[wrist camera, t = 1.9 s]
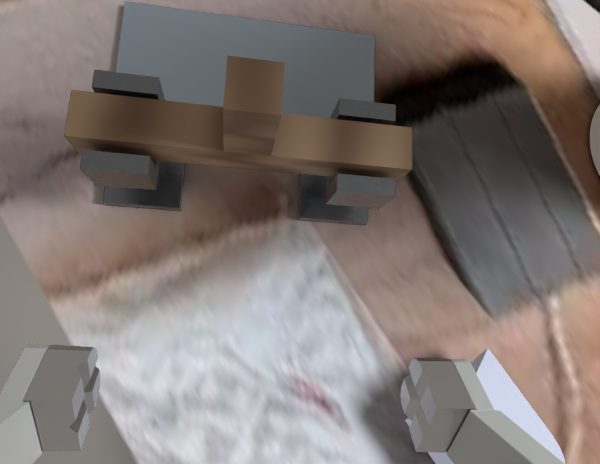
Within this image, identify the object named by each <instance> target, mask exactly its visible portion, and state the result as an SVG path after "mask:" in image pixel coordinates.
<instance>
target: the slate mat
mask: <svg viewBox="0 0 600 464" xmlns="http://www.w3.org/2000/svg"><path fill="white" fill-rule="evenodd" d="M227 55H228V56H236V57H244V58H252V59H260V60H268V61H276V62H284V63H285V65H284V83H283V101H282V113H284V114H294V115H303V116H312V117H321V118H330V116H331V114H332V113H333V111H334V109H335V107H336V105H337V103H338V101H339V99H340V98H341V99H350V100H359V101H367V102H374V61H375V36H373V35H366V34H359V33H352V32H344V31H337V30H330V29H322V28H315V27H308V26H301V25H293V24H286V23H279V22H271V21H264V20H257V19H250V18H242V17H235V16H228V15H220V14H213V13H206V12H199V11H191V10H184V9H177V8H169V7H162V6H155V5H148V4H140V3H133V2H126V1H125V4H124V12H123V19H122V27H121V34H120V41H119V49H118V56H117V64H116V71H115V72H118V73H127V74H135V75H144V76H152V77H159V79H160V82H161V86H162V90H163V94H164V97H165V100H166V101H175V102H184V103H193V104H203V105H212V106H221V107H223V103H224V91H225V79H226V67H227Z"/></svg>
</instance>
